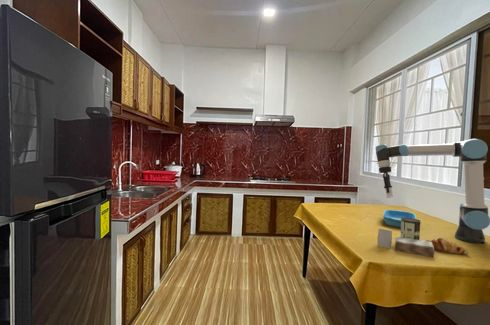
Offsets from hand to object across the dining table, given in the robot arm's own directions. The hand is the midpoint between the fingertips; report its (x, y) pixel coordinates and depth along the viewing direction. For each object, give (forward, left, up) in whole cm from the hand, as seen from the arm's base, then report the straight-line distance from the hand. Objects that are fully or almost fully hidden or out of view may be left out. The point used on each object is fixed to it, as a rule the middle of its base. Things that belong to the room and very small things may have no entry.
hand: (390, 197), depth 183 cm
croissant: (-29, +20, -25) cm, 43 cm away
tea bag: (+1, +33, -25) cm, 41 cm away
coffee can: (-12, +15, -25) cm, 31 cm away
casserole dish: (-6, -35, -25) cm, 44 cm away
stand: (-14, +31, -24) cm, 42 cm away
